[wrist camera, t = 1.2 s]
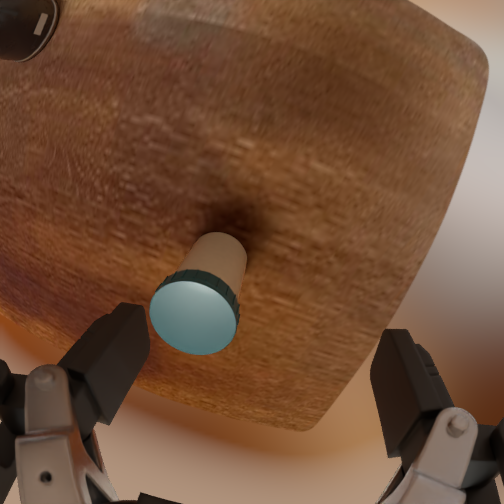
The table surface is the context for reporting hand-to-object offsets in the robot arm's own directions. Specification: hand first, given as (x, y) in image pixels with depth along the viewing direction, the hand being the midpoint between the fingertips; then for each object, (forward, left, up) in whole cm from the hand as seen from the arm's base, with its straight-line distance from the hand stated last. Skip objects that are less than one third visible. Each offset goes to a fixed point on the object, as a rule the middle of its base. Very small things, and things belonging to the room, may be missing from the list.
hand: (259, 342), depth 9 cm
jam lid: (-2, -8, -10) cm, 13 cm away
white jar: (-2, -8, -21) cm, 22 cm away
